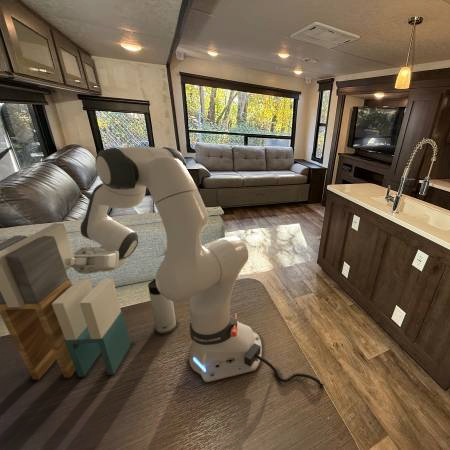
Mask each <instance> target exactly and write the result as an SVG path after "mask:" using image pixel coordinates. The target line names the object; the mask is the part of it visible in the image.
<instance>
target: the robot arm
mask: <svg viewBox="0 0 450 450" xmlns="http://www.w3.org/2000/svg"><path fill="white" fill-rule="evenodd" d="M95 170H96V173H97V175H98V177H99V180H100V181H101V182H102V183H100V184H98V185H96V186H95V187H94V189H93V190H92V192H91V195H90V197H89V201H88V205H87V209H86V213H85V216H84V218H83V220H82V221H81V223H80V234H81V236H82V237H83V238H86V239H87V240H91V241H93V242H95V243H97V244H98V245H100V246H83V247H81V248H78V250H76V251H75V252H73V254H74V258H66V259H65V261H66V262H65V265H73V266H72V267H71V268H73V270H74V271H75V272H76V273H79V274H82V275H89V274H97V273H98V274H99V273H104V272H105V273H106V272H107V273H108V272H111V271H115V270H116V271H117V270H118V269H119V268H121V267H123V266H124V265H125V264H126V262H127V260H128V258H129V257H130V256H131V255H133V253H134V252H135V250H136V249H137V247H138V245H139V235H138V232H136V231H134V230H132V228H129V227H127V226H126V225H124V224H122V223H120V222H118V221H116V220H115V219H113V218H111V216H109V215H108V212H109V211H108V210H109V208H113V209H117V210H127V209H132V208H135V207H138V205H140V204H141V203H142V202H143V201H144V199H145V197H146V192H147V189H148V191H149V193H150V196H151V199H152V201H153V203H154V206H155V208H156V210H157V213H158V215H159V218H160V220H161V222H162V226H163V229H164V230H165V231H164V232H165V236H166V250H165V254H164V256H163V258H162V259H163V260H162V261H161V263H160V264H159V266H158V268H157V270H156V273H155V279H156V286H157V289H158V291H159V292H160V293H161V295H162V296H164V297H165V298H167V299H168V300H171V301H173V303H174V302H175V303H177V302H178V303H179V302H181V301H184V300H187V299H189V298H190V300H189V303H188V307H189V317H190V323H189V335H190V339H191V350H190V353H189V357H188V361H189V365H190V367H191V369H192V370H193V371H195V372H196V373H198V374H199V375H200V377H201V378H202V380H203V381H204V382H205V383H210V382H215V381H218V380H222V379H226V378H230V377H235V376H239V375H242V374H247V373H250V372H254V371H256V370H257V369H258V368H259V366H260V363H261V362H263V364H266V366H268V367H269V368H270V369H271V370H272V371H273V372H274V373H275V376H276V377H277V379H278V380H279V381H280V382H282V383H289V382H290V381H292V379H294V378H297V377H299V378H300V377H301V378H307V379H310V380H312V381H314V382H315V383H317V384H318V385H319V386H320V387H321V388H324V387H325V385H324V383H323V382H322V381H321V380H320V379H318V378H316V377H315V376H313V375H310V374H307V373H299V372H298V373H293V374H292V375H290V376H289V377H287V378H283V377H281V375H280V373H279V371H278V370H277V369H276V367H275V366H274V365H273V364H272V363H271V362H269V360H267V359H265V358H263V357H262V355H263V347H262V346H263V345H262V340H261V338H260V335H259V334H258V333H257V332H254V331H253V329H252V328H251V326H249V325H246V324H245V323H242V322H240V321H238V317H237V316H238V315H237V312H236V313H235V314H234V316H233V315H232V314H231V298H232V294H233V291H234V287H235V284H236V282H237V280H238V277H239V274H241V271H242V270H243V268H244V266H245V265H246V264H247V263H248V260H249V249H248V247H247V245H246V243H245V241H243V240H242V239H241V238H240V237H238V236H236V235H235V236H226V237H220V238H217V239H214V240H212V241H210V242H207V243H205V244H202V240H201V235H202V231H203V230H204V229H205V228H206V227H207V225H208V224H209V220H210V215H209V212H208V210H207V207H206V205H205V203H204V201H203V198H202V195H201V194H200V190H199V189H198V187H197V185H196V183H195V181H194V179H193V177H192V176H191V174H190V172H189V171H188V169H187V162H186V159H185V157H184V155H183V154H182V153H181V152H180V151H179V150H177V149H176V148H172V147H166V146H164V147H163V146H162V147H155V146H141V145H140V146H139V145H138V146H126V147H119V148H117V147H110V148H104V149H101V150H100V151H99V152H98V153H97V155H96V157H95ZM320 382H321V383H322V384H321V383H320ZM322 385H323V386H324V387H323V386H322Z"/></svg>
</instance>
